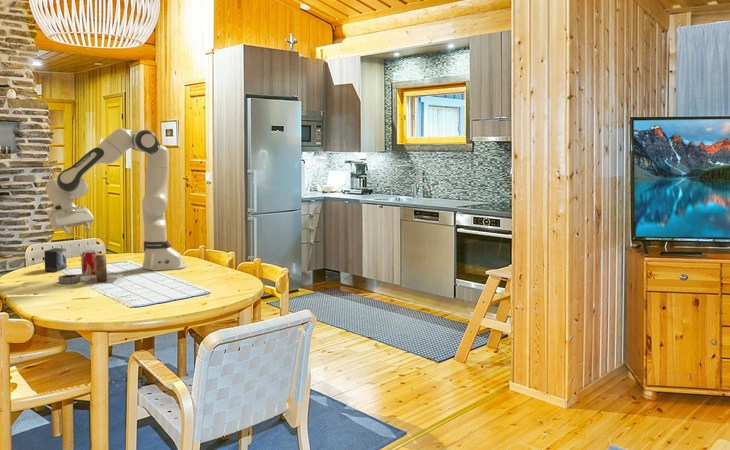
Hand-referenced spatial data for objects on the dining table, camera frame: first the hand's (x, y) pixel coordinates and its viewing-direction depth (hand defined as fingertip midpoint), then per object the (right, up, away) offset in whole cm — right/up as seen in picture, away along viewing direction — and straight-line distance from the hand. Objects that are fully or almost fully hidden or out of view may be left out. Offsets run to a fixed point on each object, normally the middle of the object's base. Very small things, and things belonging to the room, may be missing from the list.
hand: (79, 232), depth 300 cm
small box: (-22, -19, +21) cm, 36 cm away
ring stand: (+2, -24, -14) cm, 27 cm away
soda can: (+2, -21, +8) cm, 23 cm away
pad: (+14, -23, -8) cm, 28 cm away
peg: (+15, -22, -10) cm, 29 cm away
